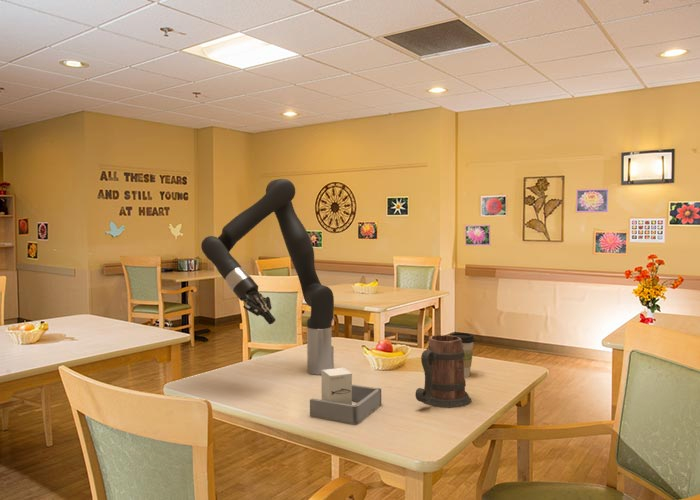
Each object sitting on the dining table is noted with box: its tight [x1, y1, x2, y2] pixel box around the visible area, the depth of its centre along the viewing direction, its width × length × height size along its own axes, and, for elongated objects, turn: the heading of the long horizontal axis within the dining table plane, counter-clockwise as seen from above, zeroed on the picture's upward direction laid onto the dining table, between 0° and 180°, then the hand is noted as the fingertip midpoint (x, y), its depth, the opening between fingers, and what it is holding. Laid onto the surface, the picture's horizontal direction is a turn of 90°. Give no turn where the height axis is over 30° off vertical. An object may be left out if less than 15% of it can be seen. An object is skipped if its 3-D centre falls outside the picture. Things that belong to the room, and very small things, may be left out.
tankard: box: [415, 334, 472, 409], centre depth 170 cm, size 24×17×20 cm
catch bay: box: [309, 384, 382, 426], centre depth 162 cm, size 15×18×5 cm
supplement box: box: [321, 367, 353, 405], centre depth 160 cm, size 7×7×13 cm
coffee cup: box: [449, 332, 476, 378], centre depth 199 cm, size 10×10×15 cm
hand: (272, 322), depth 176 cm, fingers closed
